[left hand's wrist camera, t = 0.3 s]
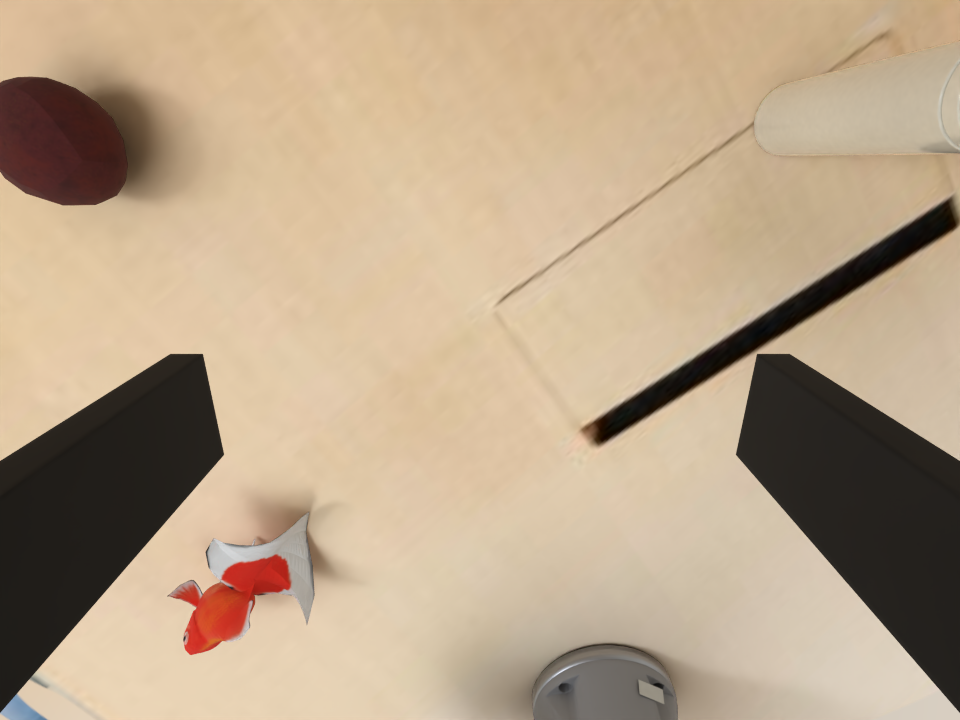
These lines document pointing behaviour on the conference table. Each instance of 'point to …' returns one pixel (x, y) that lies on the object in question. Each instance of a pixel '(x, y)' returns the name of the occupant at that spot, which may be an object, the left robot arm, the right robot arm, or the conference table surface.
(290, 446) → the conference table surface
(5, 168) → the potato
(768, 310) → the conference table surface
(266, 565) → the fish
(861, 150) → the bottle
